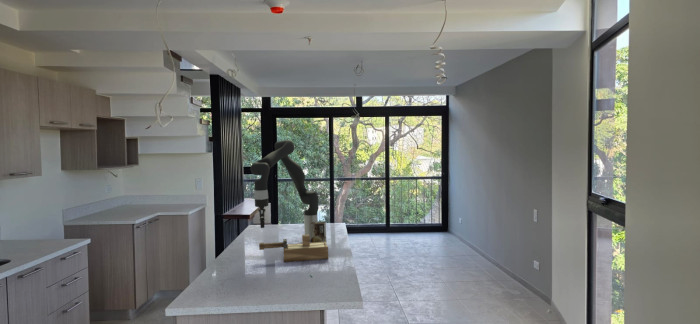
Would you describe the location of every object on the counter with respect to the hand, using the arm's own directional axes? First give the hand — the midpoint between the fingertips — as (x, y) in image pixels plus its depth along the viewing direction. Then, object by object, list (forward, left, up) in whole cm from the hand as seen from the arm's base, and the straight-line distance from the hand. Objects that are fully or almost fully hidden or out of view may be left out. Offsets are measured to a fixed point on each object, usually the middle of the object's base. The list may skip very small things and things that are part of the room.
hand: (262, 226), depth 220 cm
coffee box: (-19, +33, -20) cm, 43 cm away
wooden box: (0, +24, -20) cm, 31 cm away
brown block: (0, +5, -13) cm, 14 cm away
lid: (0, +24, -14) cm, 28 cm away
